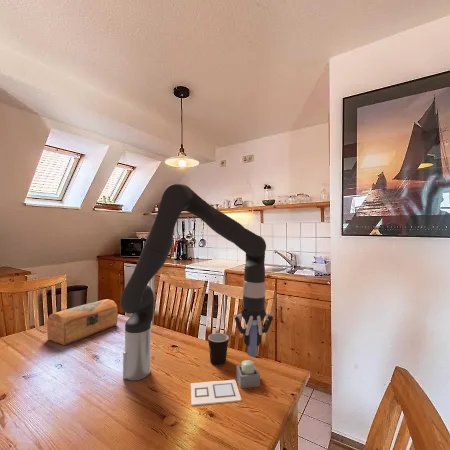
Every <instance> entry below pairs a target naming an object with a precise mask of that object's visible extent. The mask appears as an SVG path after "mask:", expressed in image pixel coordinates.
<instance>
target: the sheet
mask: <svg viewBox="0 0 450 450" xmlns="http://www.w3.org/2000/svg"><path fill="white" fill-rule="evenodd" d="M190 399H191V400H190V401H191V406H192V407H194V406H204V405H213V404H214V405H215V404H223V403H226V404H227V403H233V402H242V397H241V393H240V390H239V387H238V384H237V381H236V379H229V380H228V379H227V380H215V381H203V382H191V383H190Z"/></svg>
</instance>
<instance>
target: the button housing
mask: <svg viewBox="0 0 450 450" xmlns="http://www.w3.org/2000/svg"><path fill="white" fill-rule="evenodd" d="M236 379H237V382H238V384H239V388H240V389H245V388H258V387H260V386H261V374H260V373H259V370H258V367H257V366H256V364H255V363H254V374H250V375H242V364H240V365H236Z"/></svg>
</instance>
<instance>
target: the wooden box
mask: <svg viewBox="0 0 450 450" xmlns="http://www.w3.org/2000/svg"><path fill="white" fill-rule="evenodd" d="M118 310H119V309H118V305H117V304H116V302H115V301H114V300H112V299H108V298H106V299H101V300H98V301H93V302H89V303H84V304H82V305H77V306H74V307H70V308H67V309H64V310H61V311H57V312H54V313H51V314H49V315H48V317H47V318H46V325H47V326H46V327H47V328H46V332H47V333H46V334H47V340H49V341H51V342H55V343H57V344H60V345H63V346H67V345H70V344H72V343H75V342H78V341H79V340H82V339H84V338H87V337H89V336H92V335H94V334H97V333H100V332H102V331H104V330H107V329H110V328H112V327H115V326H117V325H118V315H119V314H118Z"/></svg>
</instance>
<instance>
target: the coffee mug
mask: <svg viewBox="0 0 450 450" xmlns="http://www.w3.org/2000/svg"><path fill="white" fill-rule="evenodd" d="M207 340H208V341H207V343H208V350H209V361H210V362H209V363H210V364H212V365H213V366H216V365H218V367H219V365H220V366H223V365H225V364H226V363H225V362H227V354H228V346H229V335H227V333H221V332H214V333H211V334H209V335H208V338H207Z"/></svg>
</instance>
